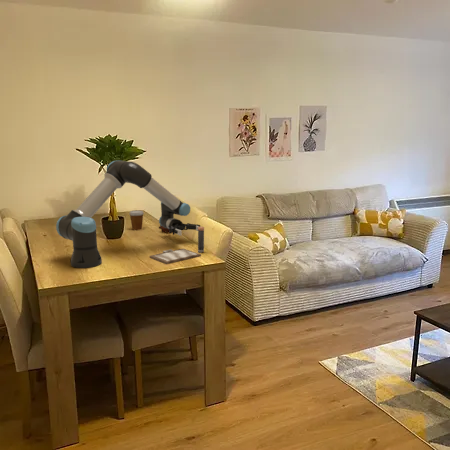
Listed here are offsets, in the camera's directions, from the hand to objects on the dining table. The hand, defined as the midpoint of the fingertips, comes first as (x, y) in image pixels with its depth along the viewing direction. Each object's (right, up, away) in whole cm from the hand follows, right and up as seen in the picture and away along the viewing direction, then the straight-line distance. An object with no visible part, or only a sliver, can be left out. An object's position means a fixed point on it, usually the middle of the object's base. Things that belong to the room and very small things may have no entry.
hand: (191, 231), depth 266 cm
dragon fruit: (-20, -1, +43) cm, 47 cm away
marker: (+6, -11, -5) cm, 14 cm away
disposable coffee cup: (-40, +1, +51) cm, 65 cm away
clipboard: (-8, -13, -15) cm, 21 cm away
